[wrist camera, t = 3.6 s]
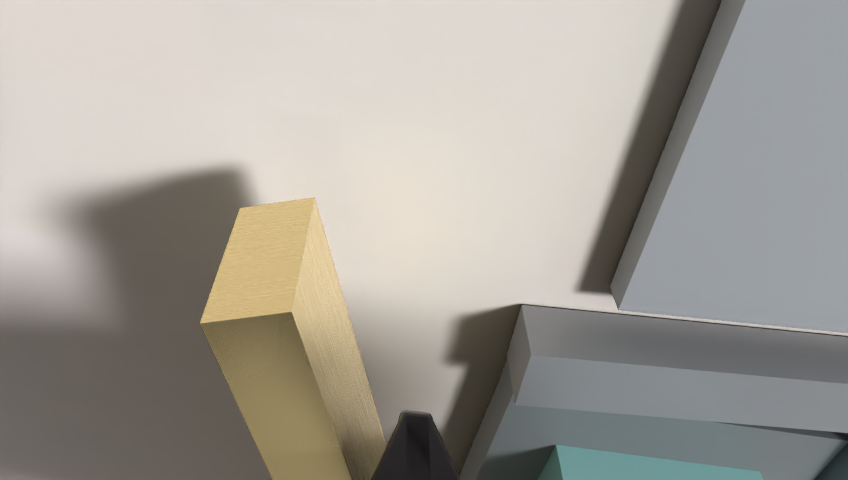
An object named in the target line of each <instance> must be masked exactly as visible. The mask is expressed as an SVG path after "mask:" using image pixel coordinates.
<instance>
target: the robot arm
mask: <svg viewBox="0 0 848 480" xmlns="http://www.w3.org/2000/svg"><path fill="white" fill-rule="evenodd" d="M371 480H460V478H459V476H458V473H457V471H456V469H455V467H454V465H453V463H452V460H451V458H450V456H449V454H448V452H447V449H446V447H445V445H444V443H443V441H442V438H441V436H440V434H439V432H438V430H437V428H436V425H435V423H434V421H433V418H432V415H431V414H430V413H426V412H417V411H408V410H405V411H402V412H401V413H400V416H399V420H398V424H397V426H396V428H395V430H394V432H393V434H392V436H391V438H390V440H389V442H388V444H387V446H386V448H385V451H384V453H383V455H382V457H381V459H380V461H379V463H378V465H377V467H376V469H375V471H374V473H373V475H372V478H371Z"/></svg>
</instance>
